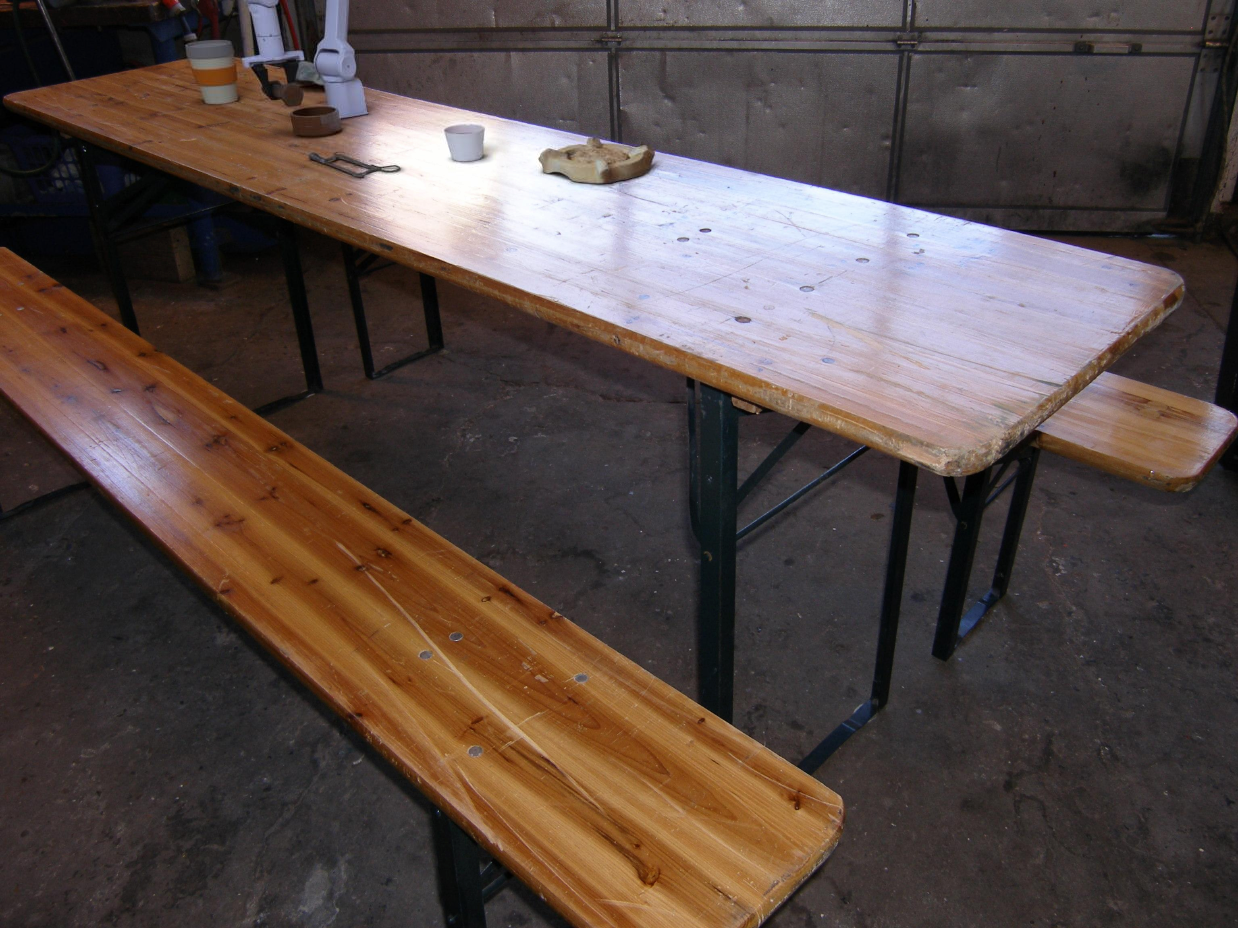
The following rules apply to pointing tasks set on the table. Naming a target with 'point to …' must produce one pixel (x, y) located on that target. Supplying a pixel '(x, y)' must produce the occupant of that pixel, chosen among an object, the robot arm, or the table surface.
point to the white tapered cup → (465, 141)
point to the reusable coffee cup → (214, 70)
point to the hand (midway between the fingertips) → (280, 95)
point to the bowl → (315, 121)
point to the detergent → (308, 74)
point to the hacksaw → (371, 167)
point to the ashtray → (598, 161)
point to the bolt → (286, 93)
